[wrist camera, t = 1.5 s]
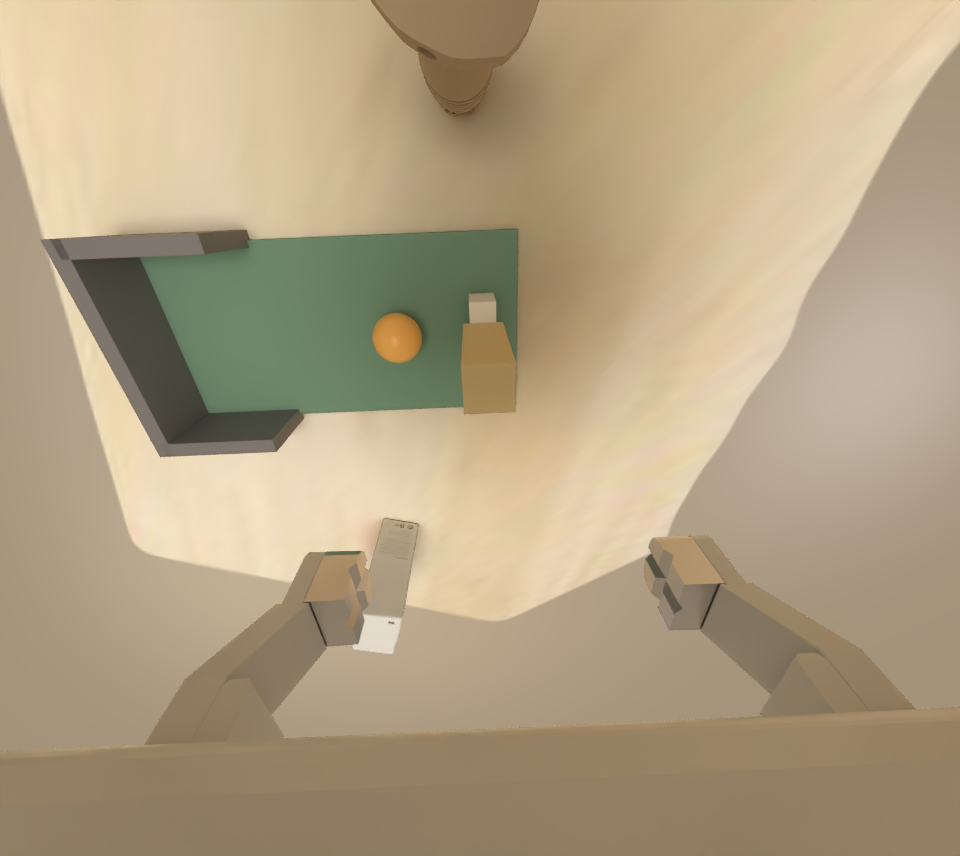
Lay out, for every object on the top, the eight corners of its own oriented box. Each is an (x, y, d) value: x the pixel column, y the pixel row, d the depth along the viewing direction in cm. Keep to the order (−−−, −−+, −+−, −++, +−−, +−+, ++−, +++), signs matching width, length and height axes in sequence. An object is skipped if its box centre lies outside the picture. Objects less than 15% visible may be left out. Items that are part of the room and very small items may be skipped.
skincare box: (382, 516, 44) (356, 612, 33) (419, 522, 44) (404, 618, 34) (376, 552, 46) (350, 650, 36) (411, 558, 47) (394, 655, 37)
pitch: (117, 245, 29) (113, 245, 29) (517, 229, 29) (517, 229, 29) (196, 416, 37) (194, 418, 36) (515, 402, 37) (515, 404, 36)
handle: (489, 150, 27) (509, 90, 14) (402, 107, 25) (331, -6, 12) (517, 66, 25) (573, -101, 12) (423, 13, 23) (366, -243, 10)
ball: (374, 308, 32) (362, 320, 28) (421, 307, 32) (416, 318, 28) (382, 354, 34) (372, 371, 30) (426, 352, 34) (422, 369, 30)
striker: (462, 293, 31) (459, 338, 20) (499, 292, 31) (516, 335, 20) (466, 364, 34) (465, 436, 23) (499, 362, 34) (515, 434, 23)
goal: (118, 234, 29) (40, 239, 24) (246, 229, 29) (197, 233, 24) (203, 422, 37) (160, 456, 32) (303, 418, 37) (276, 451, 32)
